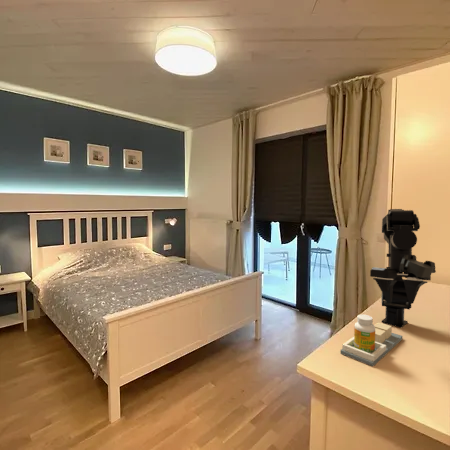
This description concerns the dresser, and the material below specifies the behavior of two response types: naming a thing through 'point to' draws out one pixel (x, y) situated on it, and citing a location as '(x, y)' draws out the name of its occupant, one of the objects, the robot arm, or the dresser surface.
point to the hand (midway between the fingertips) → (400, 303)
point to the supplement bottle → (364, 334)
